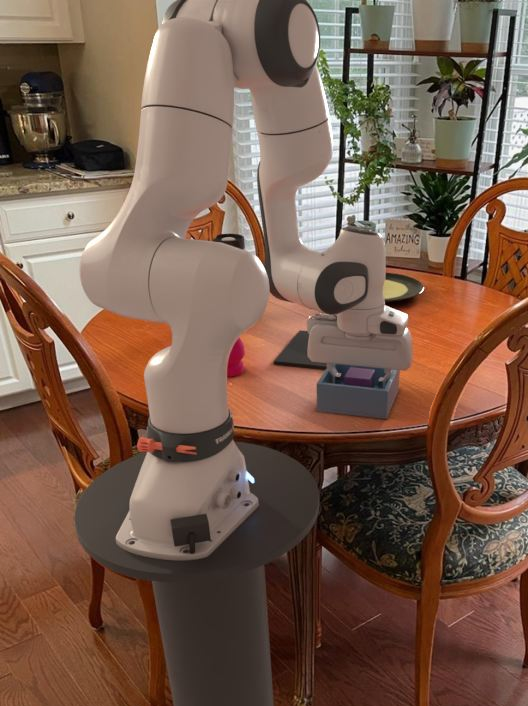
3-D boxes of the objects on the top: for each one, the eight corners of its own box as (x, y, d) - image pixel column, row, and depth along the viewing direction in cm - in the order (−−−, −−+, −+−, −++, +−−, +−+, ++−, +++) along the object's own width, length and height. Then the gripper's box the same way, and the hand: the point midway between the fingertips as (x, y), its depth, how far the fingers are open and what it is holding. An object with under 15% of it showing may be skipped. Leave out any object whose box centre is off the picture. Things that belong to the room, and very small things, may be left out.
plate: (303, 290, 201) (303, 282, 199) (375, 273, 217) (376, 265, 216) (371, 316, 183) (371, 307, 182) (444, 295, 199) (445, 287, 198)
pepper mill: (234, 362, 156) (227, 270, 146) (252, 372, 151) (246, 278, 141) (205, 369, 152) (196, 276, 142) (222, 380, 148) (214, 285, 137)
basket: (386, 419, 134) (387, 391, 131) (316, 411, 136) (316, 383, 133) (398, 390, 145) (400, 363, 142) (334, 383, 148) (334, 356, 145)
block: (368, 403, 138) (369, 379, 135) (343, 400, 139) (344, 376, 136) (374, 392, 142) (374, 369, 139) (349, 390, 143) (350, 366, 140)
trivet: (363, 373, 152) (363, 370, 152) (273, 364, 155) (273, 361, 155) (380, 341, 169) (381, 337, 168) (299, 333, 172) (299, 330, 172)
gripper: (301, 318, 131) (304, 386, 139) (411, 327, 128) (407, 397, 135) (311, 307, 137) (312, 373, 144) (416, 316, 133) (412, 383, 140)
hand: (359, 385), depth 140 cm, fingers open, 8 cm apart
